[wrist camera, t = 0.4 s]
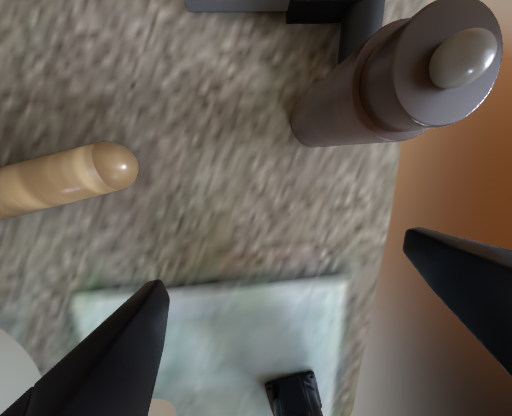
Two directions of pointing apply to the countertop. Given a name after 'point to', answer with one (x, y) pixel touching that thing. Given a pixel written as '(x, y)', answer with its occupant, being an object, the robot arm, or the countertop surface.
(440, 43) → the pepper mill
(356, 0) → the door handle
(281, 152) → the countertop surface
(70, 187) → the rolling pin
